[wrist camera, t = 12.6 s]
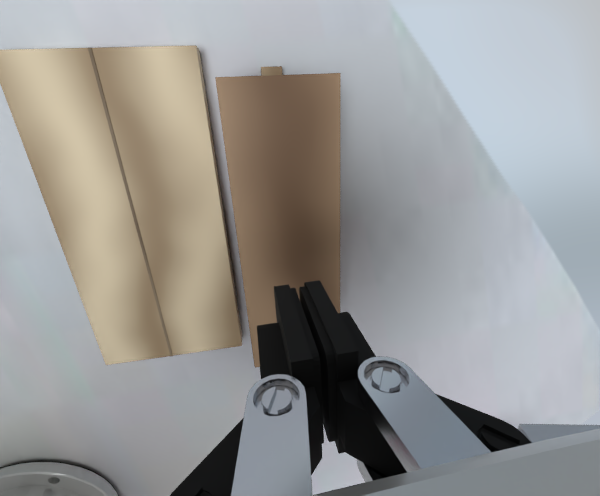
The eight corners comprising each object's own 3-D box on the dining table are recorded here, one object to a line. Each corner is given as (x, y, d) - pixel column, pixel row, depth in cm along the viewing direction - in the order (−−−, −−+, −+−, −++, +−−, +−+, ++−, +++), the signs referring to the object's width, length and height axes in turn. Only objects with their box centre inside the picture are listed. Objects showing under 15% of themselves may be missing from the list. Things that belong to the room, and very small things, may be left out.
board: (112, 353, 24) (105, 365, 23) (5, 55, 16) (-13, 49, 15) (297, 328, 26) (300, 337, 24) (279, 48, 18) (281, 43, 17)
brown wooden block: (253, 313, 25) (254, 367, 19) (225, 91, 19) (215, 77, 13) (320, 304, 25) (340, 354, 20) (314, 88, 19) (340, 73, 14)
